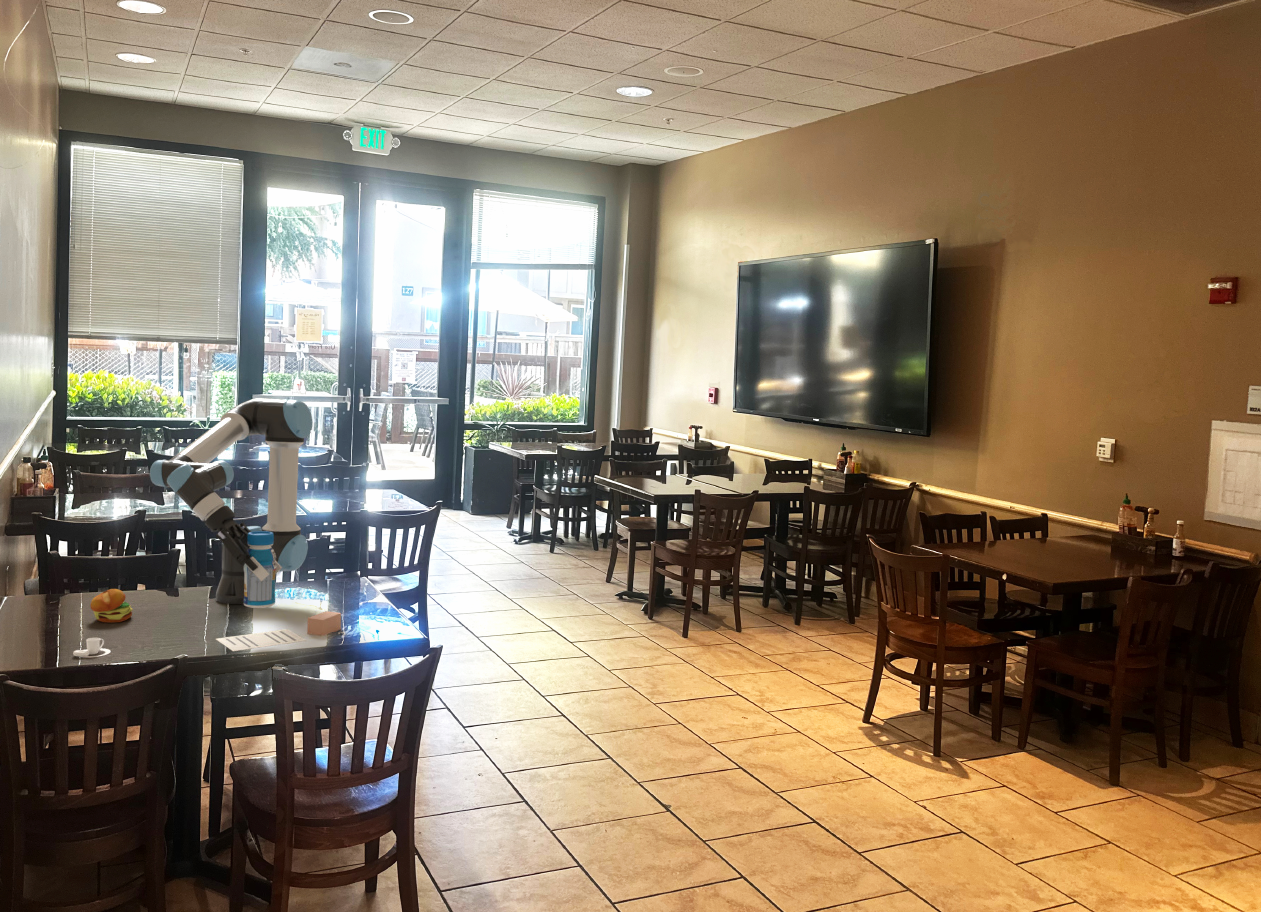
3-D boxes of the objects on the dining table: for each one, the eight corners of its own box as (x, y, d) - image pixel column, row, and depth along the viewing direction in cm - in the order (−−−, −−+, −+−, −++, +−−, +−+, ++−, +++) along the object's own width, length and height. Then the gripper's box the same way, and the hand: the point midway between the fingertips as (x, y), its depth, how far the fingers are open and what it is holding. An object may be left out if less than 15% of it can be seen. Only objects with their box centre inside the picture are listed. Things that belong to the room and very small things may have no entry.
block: (307, 617, 288) (326, 611, 296) (307, 635, 288) (325, 627, 297) (322, 620, 286) (341, 613, 295) (322, 637, 287) (340, 629, 295)
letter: (215, 639, 279) (215, 638, 279) (286, 630, 292) (286, 628, 292) (233, 652, 268) (233, 651, 268) (306, 641, 281) (306, 640, 281)
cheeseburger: (143, 617, 298) (136, 586, 295) (111, 633, 289) (104, 602, 286) (118, 612, 302) (112, 581, 299) (87, 628, 293) (80, 596, 290)
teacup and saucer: (74, 661, 256) (74, 645, 256) (70, 653, 263) (70, 637, 262) (113, 656, 262) (113, 641, 261) (107, 648, 268) (107, 633, 268)
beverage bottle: (256, 610, 273) (257, 536, 271) (236, 605, 277) (237, 532, 275) (282, 604, 280) (283, 533, 278) (262, 600, 284) (263, 529, 282)
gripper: (222, 517, 288) (276, 575, 288) (187, 528, 266) (246, 591, 267) (240, 499, 287) (295, 558, 288) (207, 509, 266) (266, 572, 267)
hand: (271, 574), depth 278 cm, fingers closed on beverage bottle, 8 cm apart
